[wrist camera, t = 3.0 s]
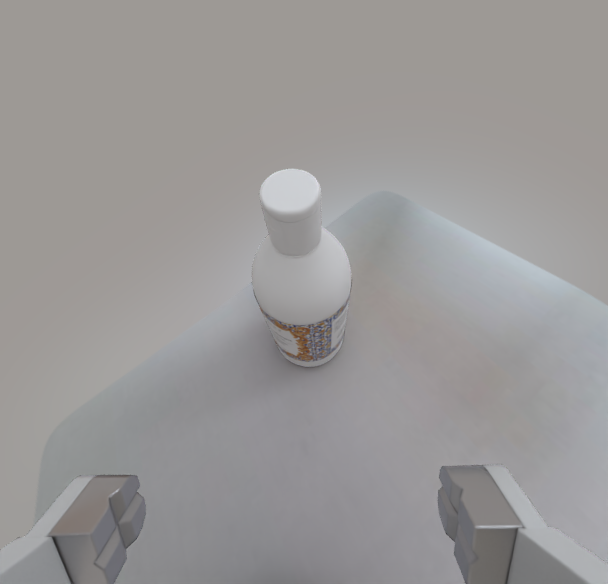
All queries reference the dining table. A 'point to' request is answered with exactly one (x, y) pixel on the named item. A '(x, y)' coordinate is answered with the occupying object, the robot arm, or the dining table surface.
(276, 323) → the bath foam
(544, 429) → the dining table surface
